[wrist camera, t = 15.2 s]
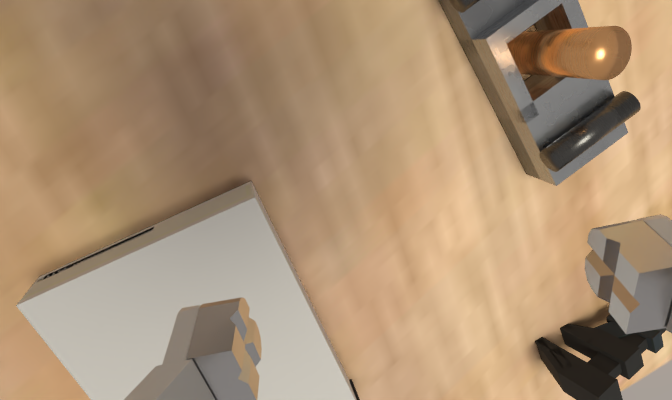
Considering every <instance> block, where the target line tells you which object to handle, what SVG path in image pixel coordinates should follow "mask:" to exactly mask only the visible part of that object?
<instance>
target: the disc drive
mask: <svg viewBox="0 0 672 400" xmlns="http://www.w3.org/2000/svg"><path fill="white" fill-rule="evenodd" d="M241 297H242V298H245V299H246V301H247V304H248V306H249V308H250V310H249V318H251V319H253V320H254V321H255V322H256V324H257V326H258V329H259V333H260V337H261V347H262V352H261V360H260V362H259V363H258V364H257V366H256V369H257V372H258V374H259V376H260V377H259V388H258V398H257V400H360V399H359V397H358V394H357V392H356V389H355V387H354V384H353V382H352V380H351V379H350V380H349V379H348V377H347V375H346V373H345V371H344V369H343V367H342V365H341V363H340V361H339V359H338V357H337V354H336V352H335V350H334V348H333V346H332V344H331V342H330V340H329V338H328V336H327V334H326V332H325V330H324V328H323V326H322V324H321V322H320V320H319V318H318V316H317V314H316V312H315V310H314V308H313V306H312V303H311V301H310V299H309V297H308V295H307V293H306V291H305V289H304V287H303V285H302V283H301V281H300V279H299V277H298V275H297V273H296V271H295V269H294V267H293V265H292V263H291V261H290V259H289V257H288V255H287V252H286V250H285V248H284V246H283V244H282V242H281V240H280V238H279V236H278V234H277V232H276V230H275V228H274V226H273V224H272V222H271V220H270V218H269V216H268V214H267V212H266V210H265V208H264V206H263V204H262V202H261V199H260V197H259V195H258V193H257V191H256V189H255V187H254V185H253V183H252V181H250V182H248V183H245V184H243V185H241V186H239V187H237V188H234V189H232V190H230V191H228V192H225V193H223V194H221V195H219V196H217V197H214V198H212V199H210V200H208V201H206V202H203V203H201V204H199V205H197V206H194V207H192V208H190V209H188V210H186V211H183V212H181V213H179V214H177V215H175V216H172V217H170V218H168V219H166V220H163V221H161V222H159V223H157V224H155V225H152V226H150V227H148V228H146V229H144V230H141V231H139V232H137V233H135V234H133V235H130V236H128V237H126V238H124V239H121V240H119V241H117V242H115V243H113V244H110V245H108V246H106V247H104V248H102V249H99V250H97V251H95V252H93V253H90V254H88V255H86V256H84V257H82V258H79V259H77V260H75V261H73V262H71V263H68V264H66V265H64V266H62V267H60V268H57V269H55V270H53V271H51V272H48V273H46V274H44V275H42V276H40V277H39V278H38V279H37V280H36V281H35V283H34V284H33V285H32V286H31V288H30V289H29V290H28V291H27V293H26V294H25V295H24V296H23V298H22V299H21V300H20V301H19V303H18V304H17V305H16V306H17V307H18V309H19V310H20V311H21V312H22V314H23V315H24V316H25V317H26V319H27V320H28V321H29V322H30V324H31V325H32V326H33V327H34V329H35V330H36V331H37V332H38V334H39V335H40V336H41V337H42V339H43V340H44V341H45V342H46V344H47V345H48V346H49V347H50V349H51V350H52V351H53V352H54V354H55V355H56V356H57V358H58V359H59V360H60V361H61V363H62V364H63V365H64V366H65V368H66V369H67V370H68V371H69V373H70V374H71V375H72V376H73V378H74V379H75V380H76V381H77V383H78V384H79V385H80V386H81V388H82V389H83V390H84V391H85V393H86V394H87V395H88V396H89V398H90V399H91V400H124V399H125V398H126V397H127V396H128V395H129V394H130V393H131V392H132V391H133V389H134V388H135V387H136V386H137V385H138V384H139V383H140V382H141V381H142V380H143V379H144V378H145V377H146V376H147V375H148V374H149V373H150V372H151V371H152V370H153V369H154V368H155V366H158V365H162V363H163V360H164V357H165V354H166V350H167V347H168V344H169V340H170V337H171V334H172V330H173V327H174V324H175V321H176V317H177V314H178V312H179V311H180V310H181V309H182V308H185V307H191V306H197V305H202V304H206V303H212V302H217V301H223V300H229V299H235V298H241Z"/></svg>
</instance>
